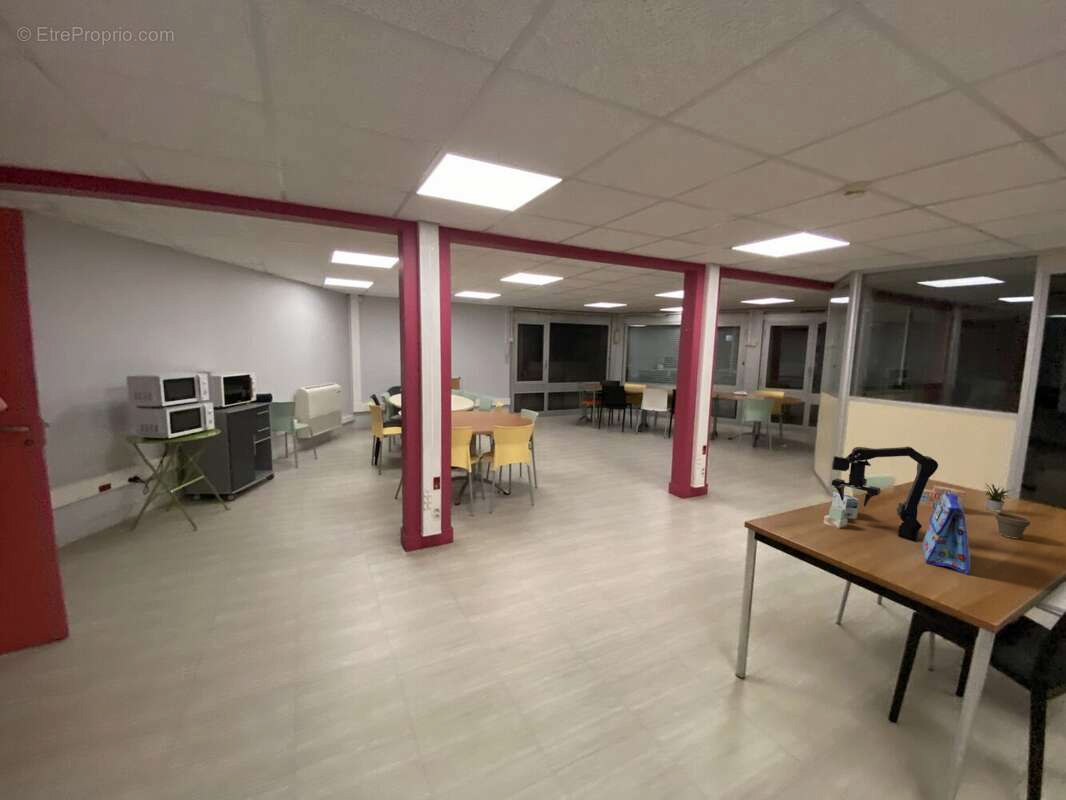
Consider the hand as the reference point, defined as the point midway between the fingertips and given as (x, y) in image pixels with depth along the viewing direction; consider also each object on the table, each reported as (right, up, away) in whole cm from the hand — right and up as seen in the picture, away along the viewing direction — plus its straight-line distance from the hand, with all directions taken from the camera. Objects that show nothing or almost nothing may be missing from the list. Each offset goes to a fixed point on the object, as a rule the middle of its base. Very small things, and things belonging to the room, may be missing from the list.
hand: (853, 503), depth 210 cm
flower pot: (+75, -16, -2) cm, 77 cm away
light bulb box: (+6, -10, +15) cm, 20 cm away
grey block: (-1, -10, +9) cm, 14 cm away
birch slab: (-8, -11, +2) cm, 14 cm away
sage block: (-8, -7, +1) cm, 11 cm away
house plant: (+106, -12, +35) cm, 112 cm away
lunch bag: (+15, -17, -31) cm, 38 cm away
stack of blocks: (+74, -11, +35) cm, 82 cm away
